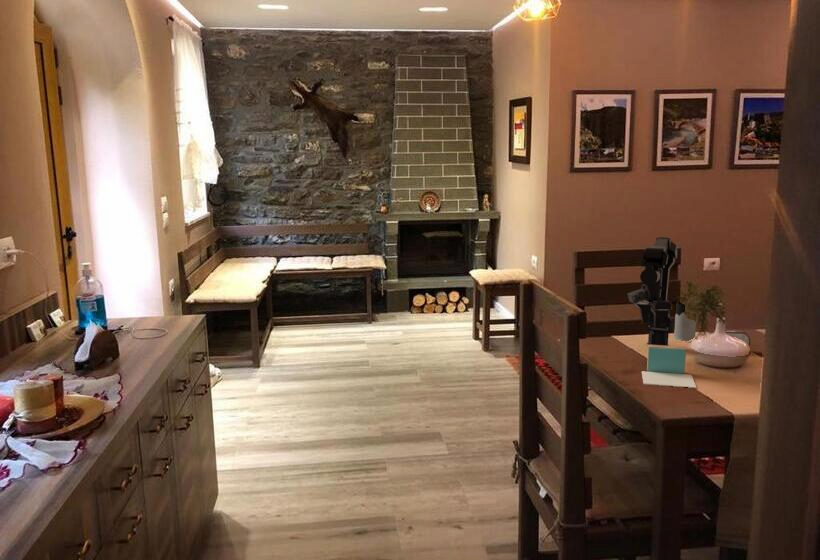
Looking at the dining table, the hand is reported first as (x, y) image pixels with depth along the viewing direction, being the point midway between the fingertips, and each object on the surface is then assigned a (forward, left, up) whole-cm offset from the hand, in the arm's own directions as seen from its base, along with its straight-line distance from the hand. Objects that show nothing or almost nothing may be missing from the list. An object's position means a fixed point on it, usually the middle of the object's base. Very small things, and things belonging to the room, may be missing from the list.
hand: (650, 325), depth 239 cm
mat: (+4, +20, -13) cm, 25 cm away
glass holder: (-30, -28, -14) cm, 43 cm away
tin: (-36, -6, -14) cm, 39 cm away
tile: (0, +12, -14) cm, 18 cm away
